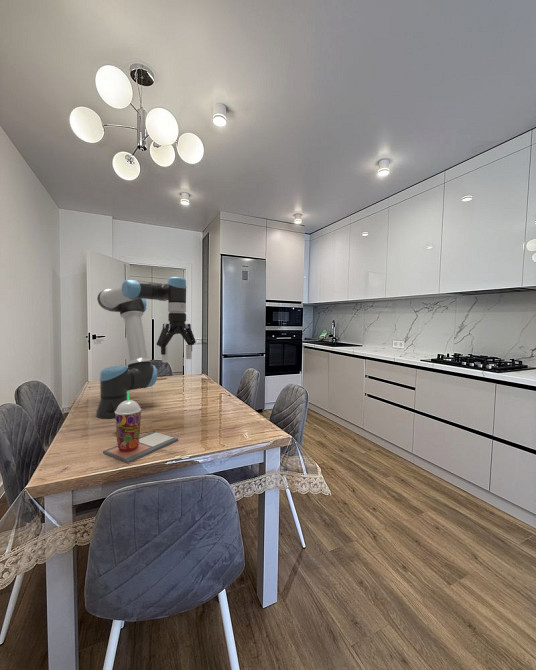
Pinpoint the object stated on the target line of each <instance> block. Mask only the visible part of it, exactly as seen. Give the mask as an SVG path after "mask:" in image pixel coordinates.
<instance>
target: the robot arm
mask: <svg viewBox="0 0 536 670" xmlns="http://www.w3.org/2000/svg"><path fill="white" fill-rule="evenodd" d="M96 300H97V303H98V305H99V306H100V307H101V308H102V309H104V311H105V310H106V311H109V312H112V313H119V315H120V318H122V319H123V321H124V327H125V334H126V342H127V348H128V355H129V362H128V364H127V365H123V364H121V365H120V364H119V365H113V366H109V367H105V368H103V369H102V370H101V371H100V375H99V377H100V378H99V383H100V385H99V386H100V401H99V404H98V405H97V406H98V407H97V409H96V417H97V418H98V419H115V411H116V409H117V407H118V406H119V404H120V403H122V402H123V401H126V400H127V392H128V391H135V390H139V389H140V390H141V389H146V388H150V387H153V386H154V385H155V384H156V382H157V379H158V368H157V367H156V366H155V365H154V364H152V361H151V360H150V359H149V358H148V353H147V346H146V339H145V334H144V327H143V326H144V325H143V322H142V321H143V320H142V317H143V315H144V313H145V311H146V310H147V306H148V305H147V300H154V301H155V300H156V301H161V302H166V301H167V302H168V308H167V310H168V314H167V315H168V317H167V318H168V323H163V324H162V330H161V332H160V334H159V337H158V339H157V342H156V346H158V347H160V354H161V362H162V363H169V347H168V344H169V343H170V341H172V338H173V337H174V335H177V334H180V335H181V336H182V338H183V339H184V341H185V343H186V345H185V354H186V355H185V359H186V360H192V359H193V358H192V352H193V345H195V344H196V343H197V342H196V338H195V336H194V333H193V331H192V325H191V323H186V321H187V314H186V312H187V280H186V278H185V277H179V276H171V277H169V278H168V280H167V283H159V282H153V281H152V282H150V281H142V280H135V279H125V280H124V281H123V283H122V285H120V286H118V287H115V288H106V289H103V290H102V291H100V292H99V293H98V295H97V298H96Z"/></svg>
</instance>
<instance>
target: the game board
mask: <svg viewBox="0 0 536 670" xmlns="http://www.w3.org/2000/svg"><path fill="white" fill-rule="evenodd" d="M178 441H179V438H177V437H174V436H171V435H167V434H164V433H160V432H158V431H157V432H156V431H151V432H149V433H146V434H143V435H141V436H140V437H139V445H138V447H137V449H135V450H133V451H130V452H121V451H120V450H119V448H118V444H117V445H115V446H112V447H110V448H107V449H105V450H103V451H102V454H104V455H106V456H108V457H111V458H114V459H116V460H118V461H121V462H123V463H126V464H130V463H133V462H134V461H136V460H138V459H141V458H144V457H145V456H148V455H149V454H152V453H154V452H157V451H158V450H161V449H163V448H165V447H168V446H169V445H172V444H174V443H176V442H178Z"/></svg>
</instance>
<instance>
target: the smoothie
mask: <svg viewBox="0 0 536 670" xmlns="http://www.w3.org/2000/svg"><path fill="white" fill-rule="evenodd" d="M141 414H142V408H141V405H139V403H138V402H137V401H135V400H132V399H130V392H128V391H127V400H126V401H123V402H122V403H120V404H119V406H118V407H117V409H116V411H115V418H114V419H115V421H116V426H115V430H116V431H115V432H116V440H117V441H116V442H117V445H118V448H119V450H120V451H121V452H130V451H133V450H135V449H137V447H138V445H139V437H141V436H140V435H141V433H140V432H141V417H142V415H141Z"/></svg>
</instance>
